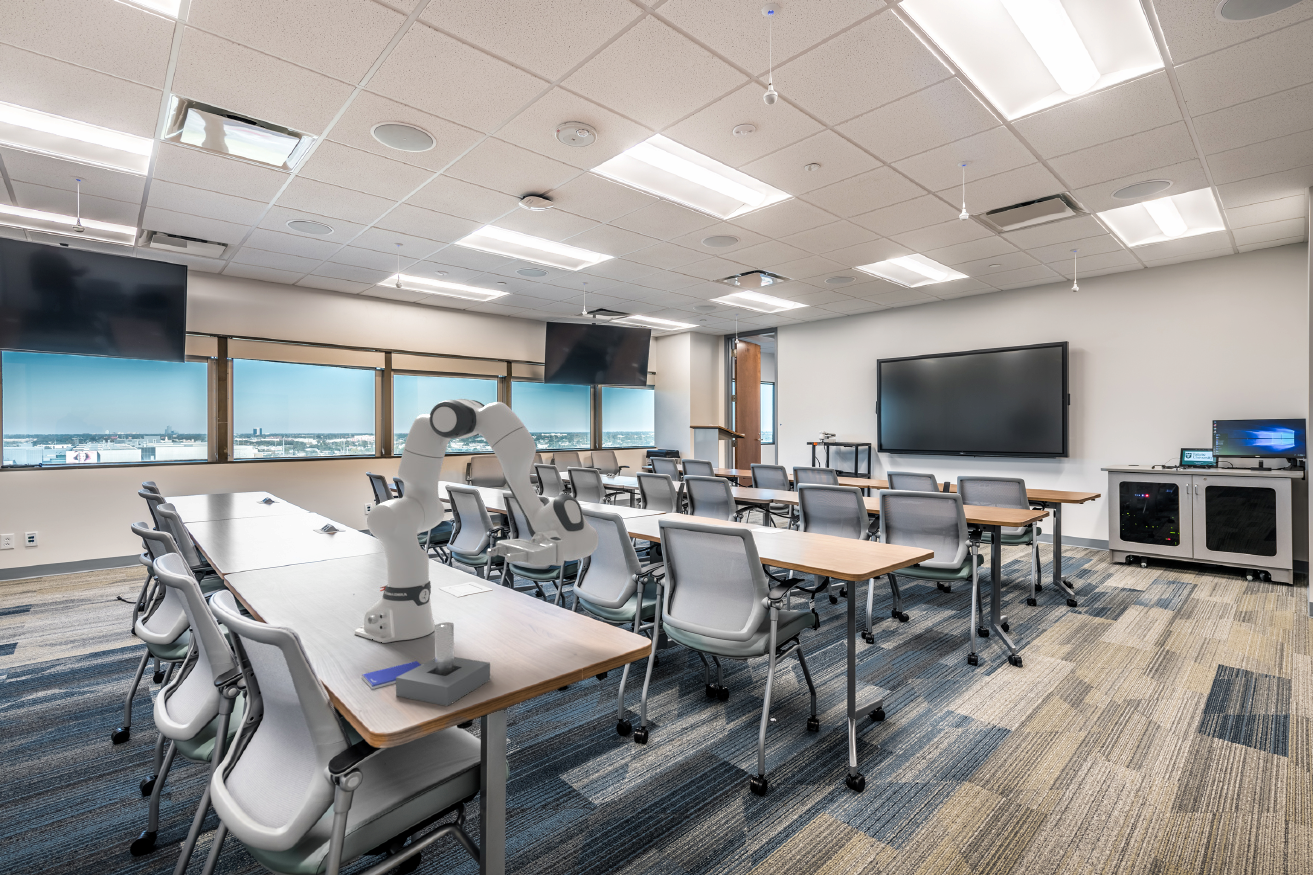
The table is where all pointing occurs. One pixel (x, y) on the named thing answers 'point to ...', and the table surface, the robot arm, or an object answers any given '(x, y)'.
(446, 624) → the post
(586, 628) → the table surface
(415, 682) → the socket base
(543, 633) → the table surface
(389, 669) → the hard drive
